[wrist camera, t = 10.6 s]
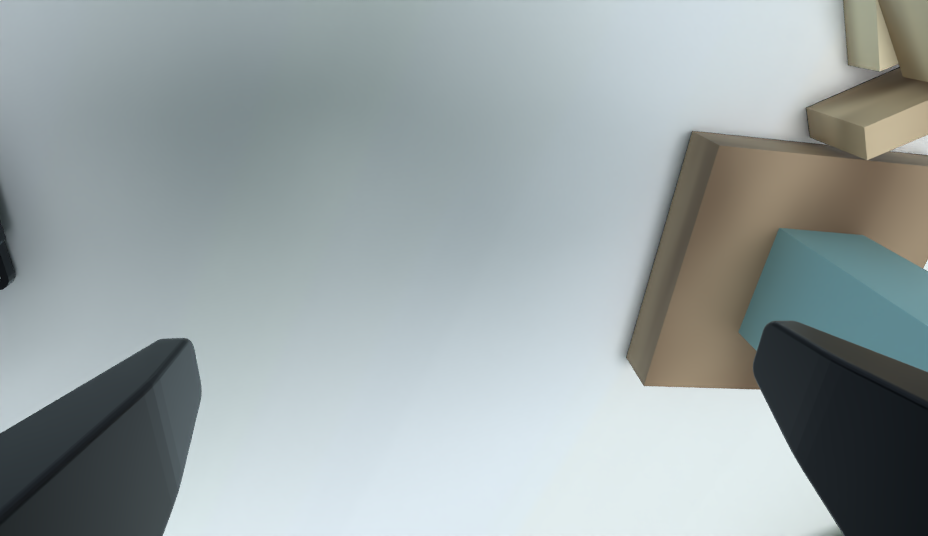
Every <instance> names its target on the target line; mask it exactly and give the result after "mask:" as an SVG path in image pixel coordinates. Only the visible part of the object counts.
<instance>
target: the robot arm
mask: <svg viewBox="0 0 928 536" xmlns="http://www.w3.org/2000/svg"><path fill="white" fill-rule="evenodd" d="M4 240H5V234H4V231H3V228H2V225H1V222H0V277H1V279H0V290H2V289H4V288H5V287H7V286H8V285H9V284H10V283H12V282H13V281H14V278H15V272H14V269H13V266H12V263H11V260H10V257H9V254H8V251H7V248H6V245H5V242H4ZM753 373H754V377H755V380H756V382H757V384H758V386H759V388H760V390H761V392H762V394H763V396H764V398H765V400H766V402H767V404H768V406H769V408H770V410H771V412H772V414H773V416H774V418H775V420H776V422H777V424H778V426H779V428H780V430H781V432H782V434H783V436H784V438H785V440H786V441H787V443H788V445H789V447H790V449H791V451H792V453H793V455H794V457H795V458H796V460H797V462H798V463H799V465H800V467H801V468H802V470H803V472H804V473H805V475H806V476H807V478H808V479H809V481H810V483H811V484H812V486H813V487H814V489H815V491H816V492H817V494H818V495H819V497H820V498H821V500H822V502H823V503H824V505H825V506H826V508H827V509H828V511H829V513H830V514H831V516H832V517H833V519H834V521H835V522H836V524H837V525H838V527H839V528H840V530H841V532H842V533H843V535H844V536H928V372H927V371H924V370H922V369H919V368H916V367H914V366H911V365H909V364H906V363H903V362H901V361H898V360H896V359H893V358H890V357H888V356H885V355H883V354H880V353H877V352H875V351H872V350H870V349H867V348H864V347H862V346H859V345H857V344H854V343H852V342H849V341H846V340H844V339H841V338H839V337H836V336H833V335H831V334H828V333H826V332H823V331H820V330H818V329H815V328H813V327H810V326H807V325H805V324H802V323H800V322H797V321H791V320H789V321H771V322H769V323H768V324H767V325H766V326H765V327H764V329H763V332H762V335H761V338H760V342H759V345H758V348H757V351H756V355H755V358H754V361H753ZM200 400H201V381H200V376H199V371H198V366H197V361H196V355H195V350H194V346H193V344H192V342H191V341H190V340H189V339H187V338H172V339H160V340H157V341H156V342H154V343H152V344H151V345H149V346H147V347H146V348H144V349H142V350H141V351H139V352H137V353H135V354H134V355H132V356H130V357H129V358H127V359H125V360H124V361H122V362H120V363H119V364H117V365H115V366H114V367H112V368H110V369H108V370H107V371H105V372H103V373H102V374H100V375H98V376H97V377H95V378H93V379H92V380H90V381H88V382H87V383H85V384H83V385H81V386H80V387H78V388H76V389H75V390H73V391H71V392H70V393H68V394H66V395H65V396H63V397H61V398H60V399H58V400H56V401H54V402H53V403H51V404H49V405H48V406H46V407H44V408H43V409H41V410H39V411H38V412H36V413H34V414H33V415H31V416H29V417H27V418H26V419H24V420H22V421H21V422H19V423H17V424H16V425H14V426H12V427H11V428H9V429H7V430H5V431H4V432H2V433H0V536H163V533H164V531H165V528H166V525H167V522H168V520H169V517H170V514H171V512H172V509H173V506H174V503H175V500H176V497H177V494H178V491H179V488H180V484H181V480H182V476H183V472H184V468H185V464H186V459H187V455H188V451H189V447H190V443H191V438H192V434H193V430H194V426H195V422H196V417H197V413H198V409H199V405H200Z"/></svg>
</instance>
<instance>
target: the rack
mask: <svg viewBox="0 0 928 536" xmlns="http://www.w3.org/2000/svg"><path fill="white" fill-rule="evenodd" d="M806 110H807V117H808V124H809V132H810V138H813V139H815V140H818V141H820V142H823V143H825V144H828V145H830V146H833V147H835V148H838V149H840V150H843V151H845V152H848V153H850V154H853V155H855V156H858V157H860V158H863V159H865V160H869V159H871V158H874V157H876V156H879V155H881V154H883V153H886V152H888V151H890V150H893V149H895V148H897V147H900V146H902V145H905V144H907V143H909V142H912V141H914V140H916V139H919V138H921V137H924V136H926V135H928V82H925V81H920V80H916V79H911V78H906V77H903V76H902V73H901V69H900V68H897V69H895V70H893V71H890V72H888V73H886V74H884V75H881V76H879V77H877V78H874V79H872V80H870V81H867V82H865V83H863V84H860V85H858V86H856V87H854V88H851V89H849V90H847V91H844V92H842V93H840V94H837V95H835V96H833V97H830V98H828V99H826V100H823V101H821V102H819V103H817V104H814V105H812V106H810V107H807V108H806Z"/></svg>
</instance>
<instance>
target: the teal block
mask: <svg viewBox="0 0 928 536" xmlns="http://www.w3.org/2000/svg"><path fill="white" fill-rule="evenodd" d="M789 320H791V321H797V322H800V323H802V324H805V325H807V326H810V327H813V328H815V329H818V330H820V331H823V332H826V333H828V334H831V335H833V336H836V337H839V338H841V339H844V340H846V341H849V342H852V343H854V344H857V345H859V346H862V347H864V348H867V349H870V350H872V351H875V352H877V353H880V354H883V355H885V356H888V357H890V358H893V359H896V360H898V361H901V362H903V363H906V364H909V365H911V366H914V367H916V368H919V369H922V370H924V371H927V372H928V271H926V270H924V269H923V268H921V267H919V266H917V265H916V264H914V263H912V262H910V261H908V260H907V259H905V258H903V257H901V256H900V255H898V254H896V253H894V252H892V251H891V250H889V249H887V248H885V247H883V246H882V245H880V244H878V243H876V242H875V241H873V240H871V239H869V238H867V237H866V236H864V235H855V234H844V233H832V232H821V231H810V230H798V229H787V228H779V230H778V232H777V235H776V237H775V240H774V243H773V245H772V248H771V250H770V253H769V255H768V258H767V260H766V263H765V266H764V268H763V271H762V273H761V276H760V278H759V281H758V283H757V286H756V288H755V291H754V294H753V296H752V299H751V301H750V304H749V306H748V309H747V311H746V314H745V317H744V319H743V322H742V324H741V327H740V329H739V333H740V334H741V336H742V337H743V338H744V339H745V340H746V341H747V342H748V343H749V344H750V345H751V346H752V347H753V348H754V349H755V350H756V351H757V348H758V345H759V342H760V338H761V335H762V332H763V329H764V327H765V326H766V325H767V324H768V323H769V322H771V321H789Z"/></svg>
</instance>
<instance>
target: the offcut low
mask: <svg viewBox="0 0 928 536" xmlns="http://www.w3.org/2000/svg"><path fill="white" fill-rule="evenodd" d="M843 5H844V18H845V31H846V44H847V57H848V65H850V66H854V67H859V68H864V69H869V70H874V71H879V72H880V71H883V70H885V69H887V68H890V67H892V66H895V65H897V64H899V63H898V60H897V57H896V54H895V51H894V48H893V45H892V42H891V39H890V36H889V33H888V29H887V26H886V23H885V20H884V17H883V14H882V11H881V8H880V5H879V2H878V0H843Z"/></svg>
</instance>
